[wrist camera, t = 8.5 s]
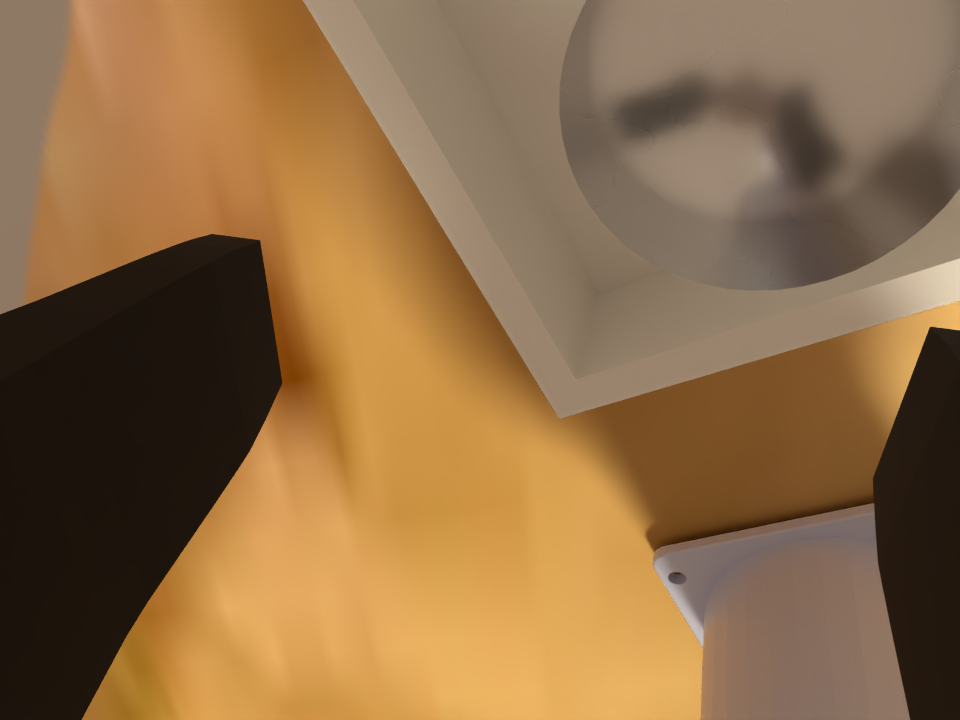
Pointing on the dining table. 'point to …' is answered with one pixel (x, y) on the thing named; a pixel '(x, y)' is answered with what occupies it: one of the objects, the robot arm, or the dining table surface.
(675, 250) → the metal cylinder
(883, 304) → the bin
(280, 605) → the dining table surface
